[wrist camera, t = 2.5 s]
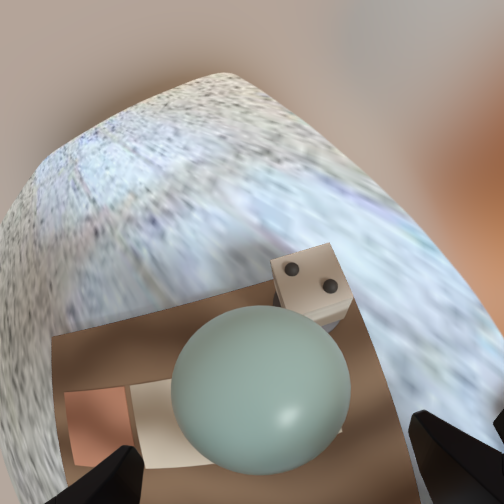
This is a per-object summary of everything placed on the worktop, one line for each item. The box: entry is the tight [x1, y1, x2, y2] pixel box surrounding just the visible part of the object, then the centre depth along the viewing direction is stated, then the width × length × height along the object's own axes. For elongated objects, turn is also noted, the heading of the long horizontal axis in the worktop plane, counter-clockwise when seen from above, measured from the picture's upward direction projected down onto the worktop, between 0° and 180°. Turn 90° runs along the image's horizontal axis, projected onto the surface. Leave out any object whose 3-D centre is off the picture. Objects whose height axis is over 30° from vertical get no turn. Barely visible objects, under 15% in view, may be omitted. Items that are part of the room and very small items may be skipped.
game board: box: [52, 243, 421, 504], centre depth 13 cm, size 20×24×5 cm
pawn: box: [171, 305, 351, 475], centre depth 10 cm, size 5×5×12 cm
